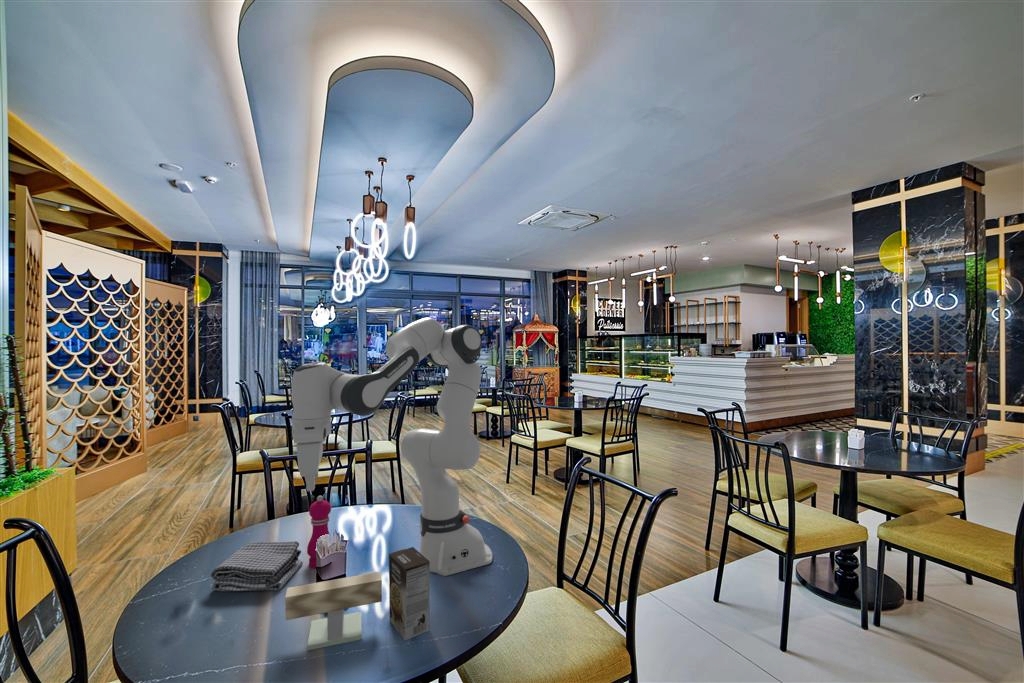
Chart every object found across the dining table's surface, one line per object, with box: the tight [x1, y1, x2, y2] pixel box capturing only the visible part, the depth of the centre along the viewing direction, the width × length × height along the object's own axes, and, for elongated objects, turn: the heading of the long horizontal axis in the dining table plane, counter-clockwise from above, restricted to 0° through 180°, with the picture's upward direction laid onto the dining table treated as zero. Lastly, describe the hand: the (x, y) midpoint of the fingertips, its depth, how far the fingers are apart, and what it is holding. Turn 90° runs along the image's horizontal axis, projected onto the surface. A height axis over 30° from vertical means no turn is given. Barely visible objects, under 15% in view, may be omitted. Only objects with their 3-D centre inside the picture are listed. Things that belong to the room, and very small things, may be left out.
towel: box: [210, 540, 304, 592], centre depth 126 cm, size 15×18×8 cm
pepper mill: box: [306, 495, 332, 569], centre depth 134 cm, size 7×7×20 cm
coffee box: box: [388, 546, 431, 641], centre depth 105 cm, size 9×6×16 cm
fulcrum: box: [306, 609, 363, 651], centre depth 103 cm, size 11×9×6 cm
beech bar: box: [284, 571, 383, 621], centre depth 103 cm, size 20×4×5 cm, turn 110°
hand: (312, 483), depth 112 cm, fingers open, 8 cm apart
